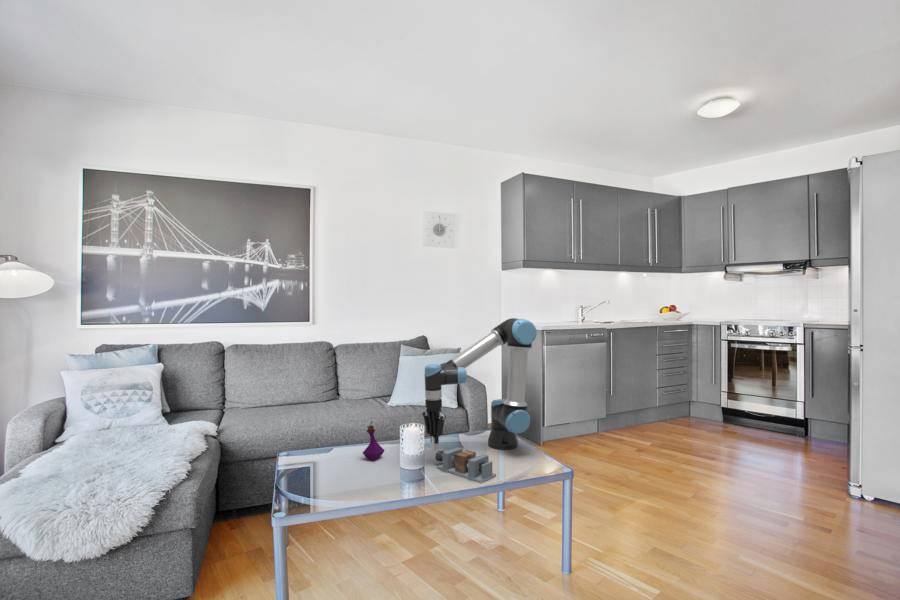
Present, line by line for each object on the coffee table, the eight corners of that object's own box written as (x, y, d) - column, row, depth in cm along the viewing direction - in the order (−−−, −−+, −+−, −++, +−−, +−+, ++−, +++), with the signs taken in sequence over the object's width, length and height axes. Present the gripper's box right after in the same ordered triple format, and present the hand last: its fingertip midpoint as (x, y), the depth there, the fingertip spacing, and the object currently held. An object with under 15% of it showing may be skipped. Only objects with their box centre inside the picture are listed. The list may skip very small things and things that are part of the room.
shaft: (442, 459, 214) (442, 449, 214) (481, 471, 199) (481, 461, 199) (435, 462, 211) (435, 452, 211) (475, 475, 195) (474, 463, 195)
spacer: (466, 466, 206) (466, 450, 206) (475, 468, 203) (475, 452, 203) (455, 470, 201) (455, 454, 201) (464, 473, 197) (463, 457, 197)
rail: (452, 462, 214) (451, 445, 214) (496, 476, 197) (496, 457, 197) (436, 468, 206) (436, 450, 206) (481, 483, 190) (481, 464, 190)
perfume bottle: (362, 459, 219) (361, 421, 219) (372, 454, 225) (371, 417, 225) (375, 462, 215) (374, 423, 215) (384, 457, 222) (384, 419, 222)
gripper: (417, 398, 216) (418, 449, 216) (438, 402, 207) (439, 455, 207) (428, 395, 222) (430, 445, 222) (449, 399, 213) (450, 450, 213)
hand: (434, 450), depth 215 cm, fingers closed
